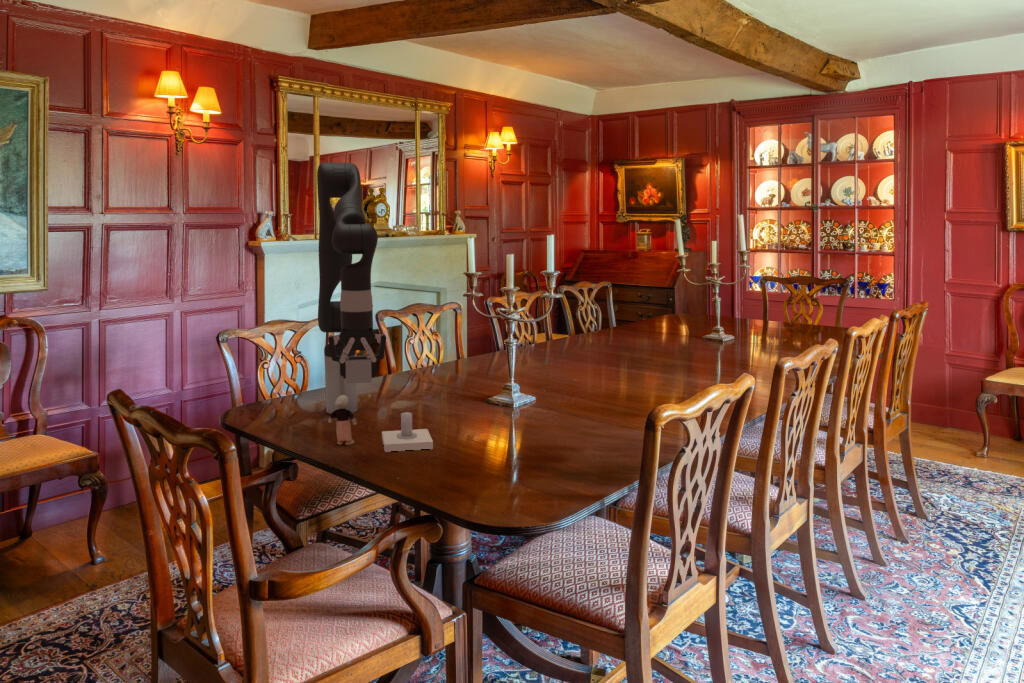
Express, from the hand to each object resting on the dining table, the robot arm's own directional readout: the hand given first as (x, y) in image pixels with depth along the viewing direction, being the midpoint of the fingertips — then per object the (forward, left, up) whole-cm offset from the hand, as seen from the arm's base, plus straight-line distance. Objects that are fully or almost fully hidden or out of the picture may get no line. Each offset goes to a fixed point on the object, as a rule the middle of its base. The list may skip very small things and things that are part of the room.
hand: (358, 377), depth 183 cm
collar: (0, 0, -1) cm, 1 cm away
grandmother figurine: (-10, -4, -19) cm, 22 cm away
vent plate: (-6, +12, -19) cm, 23 cm away
